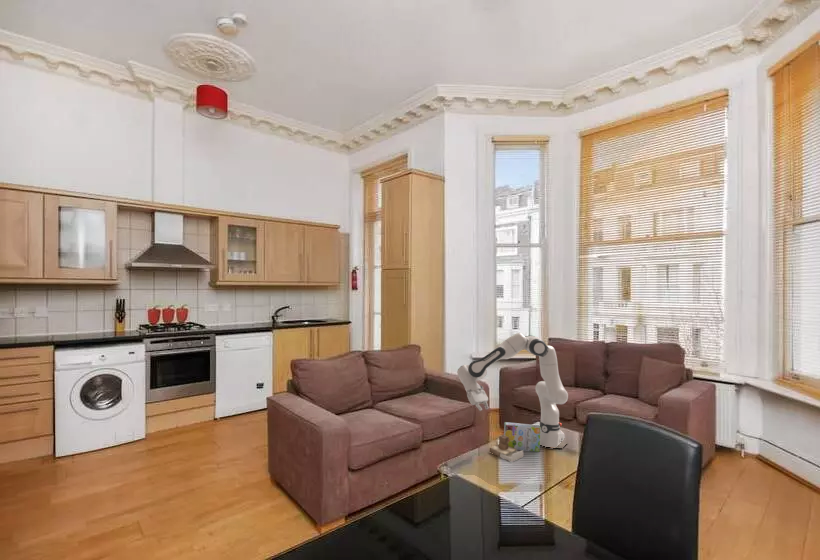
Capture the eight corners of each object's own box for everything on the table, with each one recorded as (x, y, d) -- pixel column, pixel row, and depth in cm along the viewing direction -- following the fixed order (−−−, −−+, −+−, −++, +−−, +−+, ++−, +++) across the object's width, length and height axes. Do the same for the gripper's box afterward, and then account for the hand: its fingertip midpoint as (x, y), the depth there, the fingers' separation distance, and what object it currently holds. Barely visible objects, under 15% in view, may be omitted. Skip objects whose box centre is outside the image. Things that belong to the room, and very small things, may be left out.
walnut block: (502, 446, 249) (503, 435, 249) (508, 448, 246) (508, 437, 246) (498, 448, 246) (499, 436, 246) (504, 450, 243) (504, 438, 243)
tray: (511, 452, 248) (512, 445, 248) (523, 457, 242) (523, 450, 242) (499, 456, 240) (500, 450, 240) (511, 461, 234) (511, 454, 234)
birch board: (501, 448, 254) (501, 443, 254) (516, 454, 246) (516, 449, 246) (489, 452, 246) (489, 447, 246) (504, 458, 238) (504, 453, 238)
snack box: (537, 448, 257) (538, 424, 257) (539, 452, 251) (540, 427, 251) (503, 445, 259) (504, 421, 259) (504, 449, 253) (505, 424, 253)
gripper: (469, 387, 251) (481, 408, 245) (483, 386, 268) (494, 405, 262) (462, 392, 253) (473, 413, 247) (476, 391, 270) (487, 410, 264)
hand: (484, 409), depth 254 cm, fingers open, 8 cm apart
